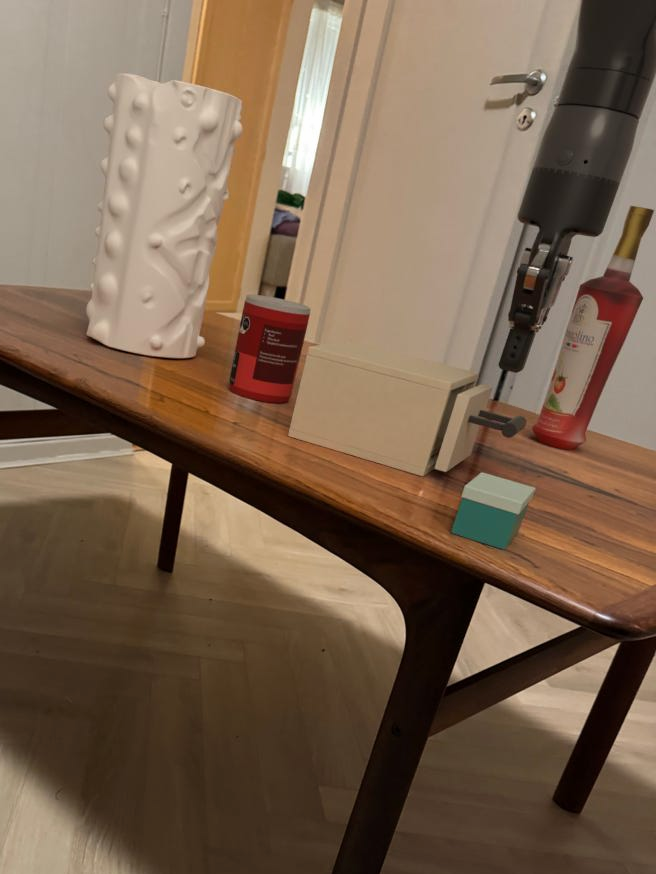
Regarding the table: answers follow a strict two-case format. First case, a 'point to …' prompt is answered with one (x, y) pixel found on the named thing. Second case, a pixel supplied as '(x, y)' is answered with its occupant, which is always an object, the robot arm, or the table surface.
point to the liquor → (593, 341)
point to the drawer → (468, 425)
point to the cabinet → (375, 403)
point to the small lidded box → (492, 510)
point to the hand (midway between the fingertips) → (509, 370)
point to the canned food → (268, 348)
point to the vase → (160, 213)
